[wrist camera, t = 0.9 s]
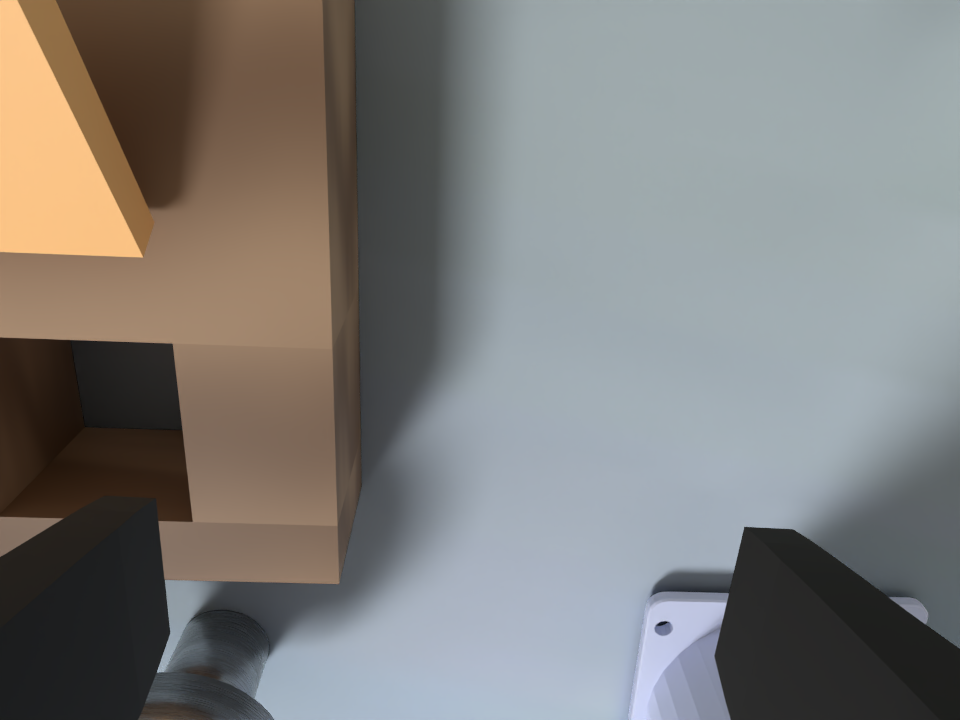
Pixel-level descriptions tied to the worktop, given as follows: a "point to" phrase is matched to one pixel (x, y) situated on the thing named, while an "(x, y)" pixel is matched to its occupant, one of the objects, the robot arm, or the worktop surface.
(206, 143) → the hitch block
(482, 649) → the worktop surface
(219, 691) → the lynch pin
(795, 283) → the worktop surface
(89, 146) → the block
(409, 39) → the worktop surface
